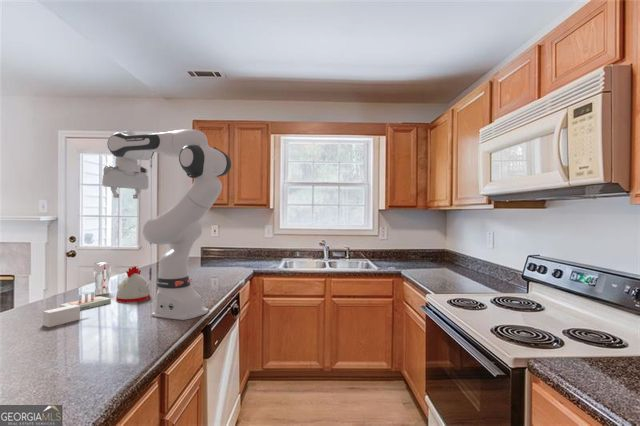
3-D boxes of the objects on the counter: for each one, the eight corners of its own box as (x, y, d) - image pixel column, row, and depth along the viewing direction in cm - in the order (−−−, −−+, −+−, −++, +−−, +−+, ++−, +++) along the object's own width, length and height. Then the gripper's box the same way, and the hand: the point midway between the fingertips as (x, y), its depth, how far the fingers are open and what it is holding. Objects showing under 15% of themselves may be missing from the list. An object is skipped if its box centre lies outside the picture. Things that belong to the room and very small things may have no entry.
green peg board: (110, 303, 149) (110, 290, 149) (70, 312, 135) (70, 298, 135) (99, 300, 153) (100, 288, 153) (59, 309, 138) (59, 296, 138)
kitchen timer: (108, 301, 152) (109, 268, 152) (131, 294, 166) (132, 263, 166) (134, 303, 149) (135, 270, 149) (156, 296, 163) (157, 265, 163)
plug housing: (92, 316, 131) (92, 303, 131) (48, 327, 118) (49, 312, 118) (86, 314, 133) (86, 301, 132) (42, 325, 120) (43, 311, 120)
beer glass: (113, 292, 167) (114, 262, 167) (100, 295, 161) (100, 264, 161) (103, 291, 170) (103, 261, 169) (89, 294, 163) (90, 263, 163)
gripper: (108, 164, 142) (108, 197, 142) (150, 170, 161) (150, 199, 161) (99, 165, 145) (98, 197, 145) (141, 170, 163) (141, 199, 163)
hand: (126, 198), depth 153 cm, fingers open, 8 cm apart
